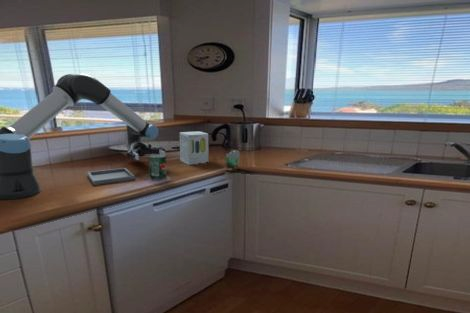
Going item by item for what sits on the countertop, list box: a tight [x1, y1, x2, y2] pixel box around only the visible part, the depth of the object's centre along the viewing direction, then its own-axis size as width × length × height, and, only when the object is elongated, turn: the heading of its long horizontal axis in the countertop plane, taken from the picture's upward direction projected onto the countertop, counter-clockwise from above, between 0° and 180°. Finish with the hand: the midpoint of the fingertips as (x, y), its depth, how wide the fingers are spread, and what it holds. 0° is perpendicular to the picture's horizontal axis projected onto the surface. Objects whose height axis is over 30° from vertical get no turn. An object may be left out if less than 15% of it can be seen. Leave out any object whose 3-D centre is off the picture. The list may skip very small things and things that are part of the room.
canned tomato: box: [148, 154, 167, 181], centre depth 148 cm, size 8×8×11 cm
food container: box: [225, 149, 241, 172], centre depth 167 cm, size 12×6×10 cm, turn 168°
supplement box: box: [179, 130, 209, 165], centre depth 184 cm, size 13×13×18 cm
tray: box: [86, 167, 136, 186], centre depth 148 cm, size 18×18×2 cm
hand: (151, 155), depth 156 cm, fingers open, 13 cm apart
